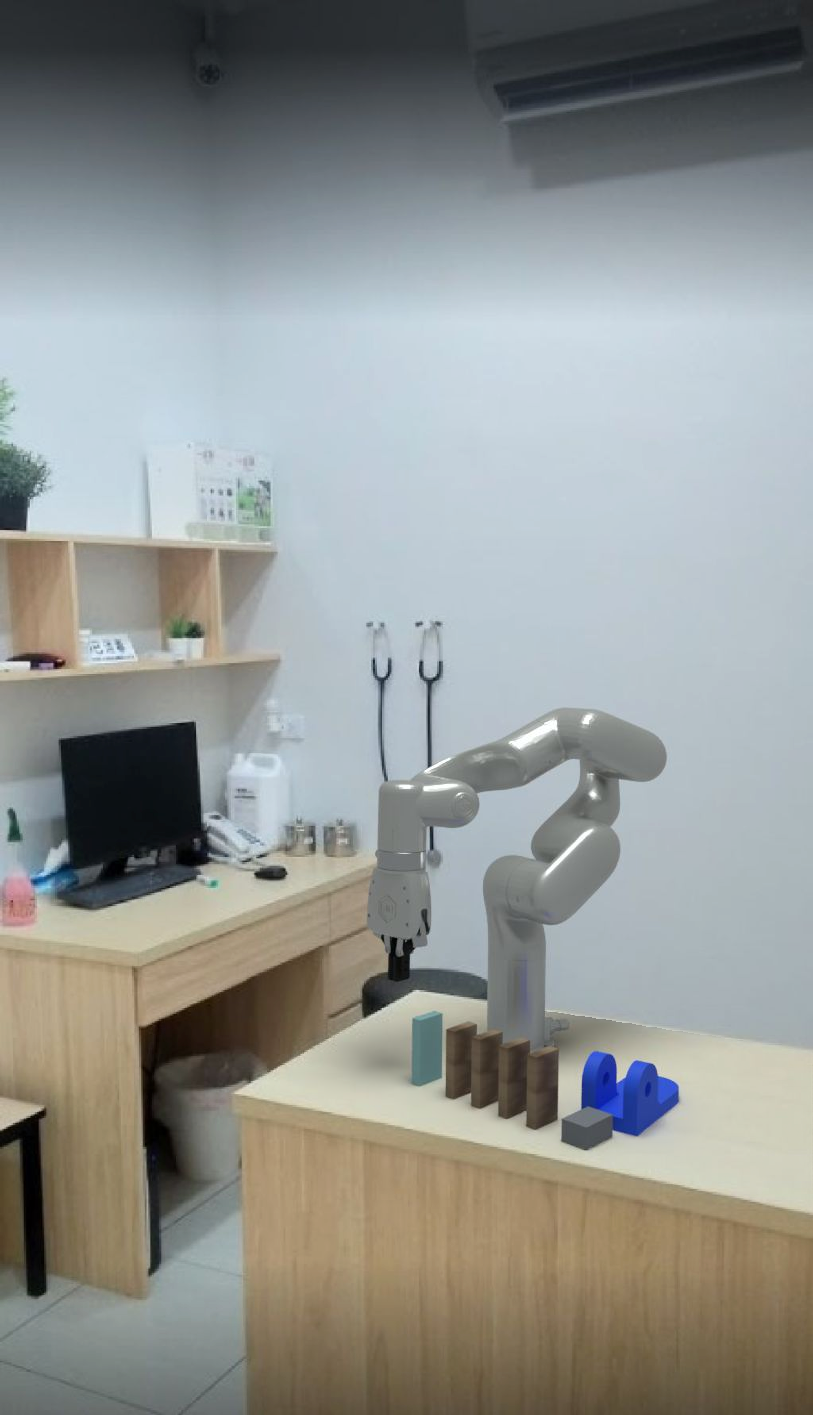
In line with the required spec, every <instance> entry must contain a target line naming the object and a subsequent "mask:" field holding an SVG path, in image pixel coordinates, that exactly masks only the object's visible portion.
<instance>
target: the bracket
mask: <svg viewBox="0 0 813 1415" xmlns="http://www.w3.org/2000/svg"><path fill="white" fill-rule="evenodd" d="M617 1068H618V1066H617V1061H616V1058H615V1057H614V1055H613V1054H611V1053H606V1052H602V1051H598V1050H594V1051H593V1052H591V1053H590V1054H589V1056H588V1057H587V1059H586V1060H585V1063H584V1066H583V1069H582V1075H581V1092H580V1094H581V1096H580V1097H581V1098H580V1100H581V1102H580V1103H581V1104H580V1110H581V1109H584V1108H586V1107H588V1106H589V1107H591V1108H594V1109H597V1110H600V1111H603V1112H606V1113H609V1114H612V1115H613V1132H614V1131H615V1132H619V1133H622V1134H625V1135H630V1136H634V1137H638V1136H639V1135H641V1134H642V1133H644V1131H645V1130H647V1129H648V1128H650V1127H651V1125H653V1124H654V1123H655V1122H657V1121H658V1120H659V1119H660V1118H662V1117H663V1116H664V1115H666V1113H668V1112H669V1111H670V1110H671V1109H673V1108H674V1107H675V1106H677V1104H678V1103H679V1101H680V1100H679V1098H680V1096H679V1095H680V1090H679V1089H680V1088H679V1085H678V1083H677V1082H675V1081H674V1080H672V1079H671V1078H667V1077H664V1076H660V1075H659V1074H658V1070H657V1067H656V1065H655V1064H654V1063H651V1062H646V1061H643V1060H634V1061H633V1062H632V1063H631V1064H630V1066H629V1068H628V1069H627V1073H626V1074H625V1077H623V1078H622V1079H621V1080H619V1081H618V1080H617V1075H618V1069H617Z"/></svg>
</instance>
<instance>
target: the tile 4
mask: <svg viewBox="0 0 813 1415" xmlns="http://www.w3.org/2000/svg"><path fill="white" fill-rule="evenodd" d="M527 1054H530V1040H529V1039H525V1038H522V1037H521V1038H518V1039H516V1040H513V1041H510V1042H507V1043H505V1044H502V1045H499V1083H498V1101H497V1117H499V1118H502V1119H506V1120H508V1119H511V1118H514V1117H515V1116H517V1115H521V1114H522V1113H524V1112H527Z"/></svg>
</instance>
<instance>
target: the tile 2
mask: <svg viewBox="0 0 813 1415" xmlns="http://www.w3.org/2000/svg"><path fill="white" fill-rule="evenodd" d="M445 1031H446V1032H445V1035H446V1036H445V1097H446V1098H449V1099H452V1100H456V1099H459V1098H461V1097H463V1096H466V1095H468V1094H471V1061H472V1037H473V1036H476V1035H478V1033H477V1032H478V1023H475V1022H471V1021H467V1022H464V1023H461V1024H458V1025H454V1026H451V1027H448V1028H445Z"/></svg>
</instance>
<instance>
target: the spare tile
mask: <svg viewBox="0 0 813 1415" xmlns="http://www.w3.org/2000/svg"><path fill="white" fill-rule="evenodd" d="M443 1014H444V1013H443V1012H441V1011H437V1010H433V1011H431V1012H427V1013H424V1014H421V1015H418V1016H415V1017H412V1019H411V1027H412V1031H411V1034H412V1035H411V1084H412V1085H415V1086H417V1087H421V1086H424V1085H427V1084H429V1083H432V1082H434V1081H437V1080H440V1079H442V1078H443V1018H444V1017H443V1016H444V1015H443Z"/></svg>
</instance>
